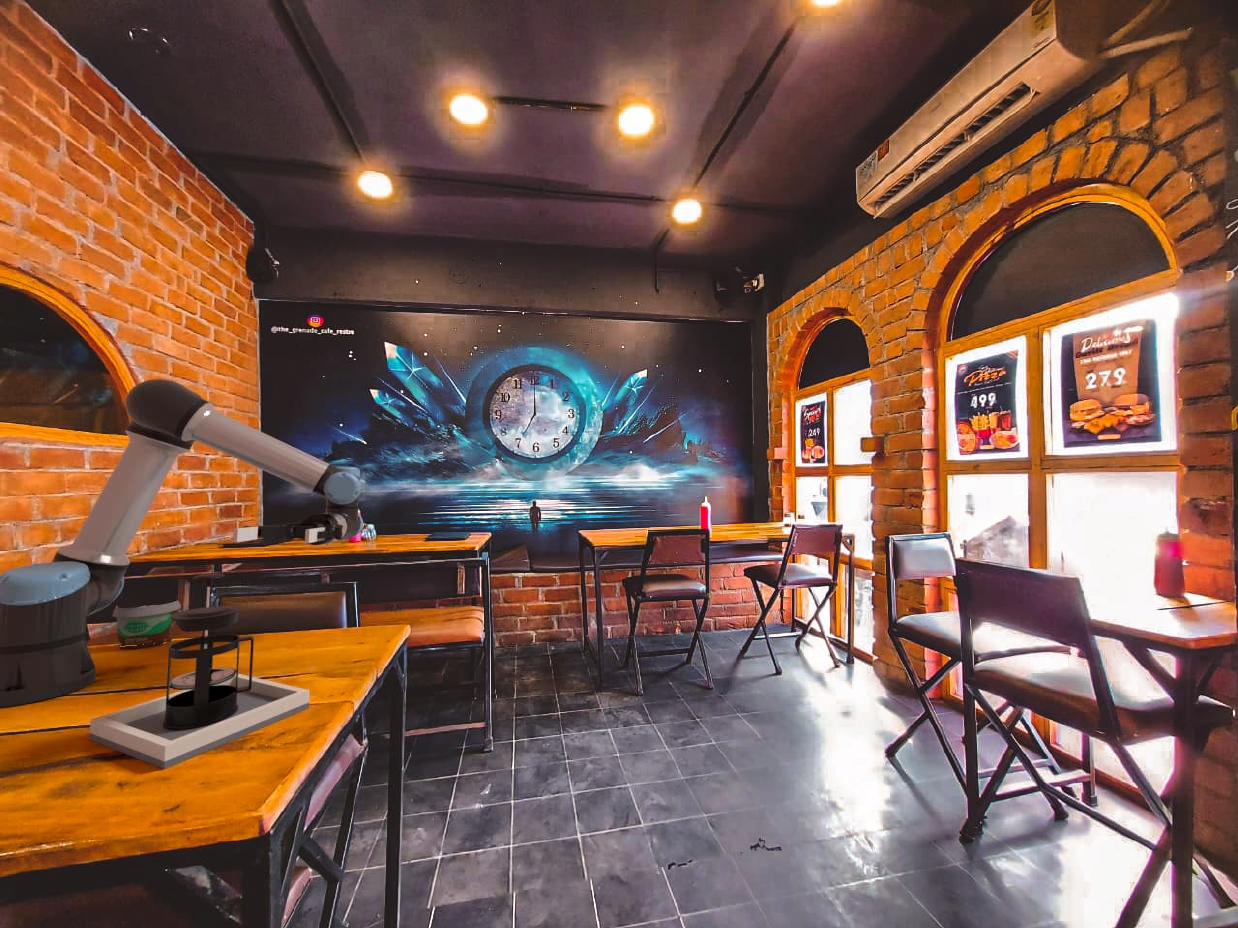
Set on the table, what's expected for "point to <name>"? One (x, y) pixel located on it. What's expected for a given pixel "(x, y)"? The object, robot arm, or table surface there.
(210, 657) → the french press
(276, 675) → the table surface
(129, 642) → the food container
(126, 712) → the serving tray
